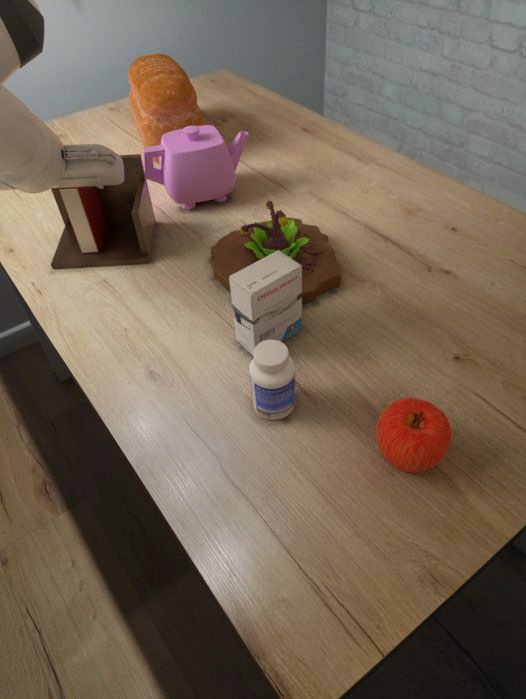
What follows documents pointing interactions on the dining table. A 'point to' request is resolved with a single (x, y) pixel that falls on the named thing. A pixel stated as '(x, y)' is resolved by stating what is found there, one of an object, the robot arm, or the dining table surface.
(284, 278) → the ink box
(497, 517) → the dining table surface
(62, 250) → the book stand
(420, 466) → the apple
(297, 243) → the plant
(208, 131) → the teapot
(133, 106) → the bread
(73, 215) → the book
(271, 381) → the pill bottle
